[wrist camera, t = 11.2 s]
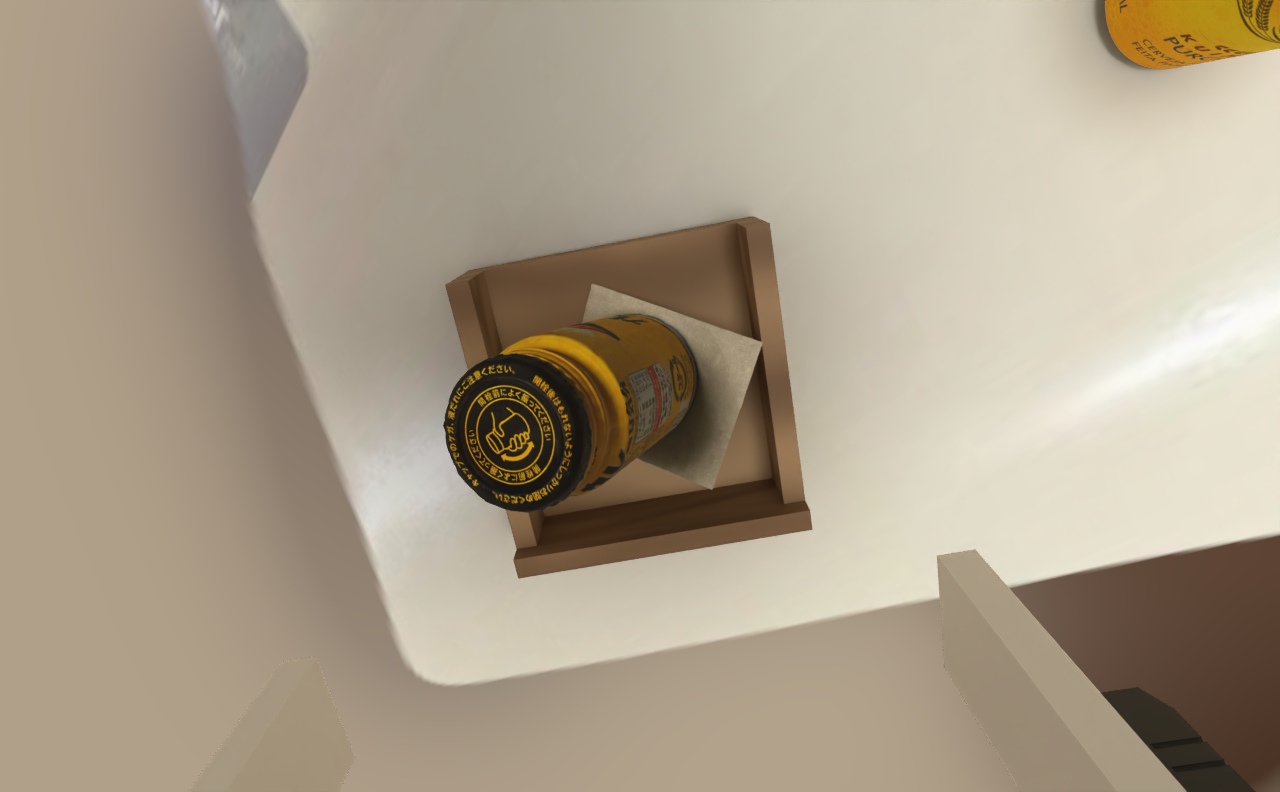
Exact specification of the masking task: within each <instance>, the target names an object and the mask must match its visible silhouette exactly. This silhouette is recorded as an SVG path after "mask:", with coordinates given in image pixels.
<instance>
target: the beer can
mask: <svg viewBox="0 0 1280 792" xmlns="http://www.w3.org/2000/svg"><path fill="white" fill-rule="evenodd" d="M1105 14H1106V21H1107V26H1108V29H1109V33H1110V35H1111V37H1112V39H1113V41H1114V43H1115V45H1116V46H1117V48H1118V49H1119V50H1120V51H1121V52H1122V53H1123V54H1124V55H1125V56H1126V57H1127V58H1128V59H1130V60H1131V61H1133V62H1135V63H1137V64H1139V65H1141V66H1144V67H1148V68H1153V69H1170V68H1177V67H1182V66H1187V65H1193V64H1198V63H1204V62H1209V61H1214V60H1220V59H1225V58H1230V57H1236V56H1241V55H1247V54H1252V53H1257V52H1263V51H1268V50H1274V49H1279V48H1280V0H1105Z"/></svg>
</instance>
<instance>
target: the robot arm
mask: <svg viewBox="0 0 1280 792" xmlns="http://www.w3.org/2000/svg"><path fill="white" fill-rule="evenodd" d="M937 564H938V579H939V594H940V609H941V625H942V640H943V653H944V654H943V655H944V667H945V669H946V671H947V672H948V674H949V676H950V678H951V679H952V681H953V682H954V684H955V686H956V687H957V689H958V691H959V692H960V694H961V695H962V697H963V699H964V701H965V702H966V704H967V705H968V707H969V709H970V710H971V712H972V714H973V715H974V717H975V719H976V720H977V722H978V724H979V725H980V727H981V729H982V730H983V732H984V733H985V735H986V737H987V738H988V740H989V742H990V743H991V745H992V747H993V748H994V750H995V752H996V753H997V755H998V756H999V758H1000V760H1001V761H1002V763H1003V764H1004V766H1005V768H1006V770H1007V771H1008V773H1009V775H1010V776H1011V778H1012V780H1013V781H1014V783H1015V784H1016V786H1017V788H1018V789H1019V791H1020V792H1255V791H1254V790H1253V789H1252V788H1251V787H1250V786H1249V785H1248V784H1247V783H1246V781H1245V780H1243V778H1241V776H1240V775H1239V774H1238V773H1237V772H1236V771H1235V770H1234V769H1233V768H1232V767H1231V766H1230V765H1228V766H1227V765H1226V764H1225V762H1224V759H1223V758H1222V757H1221V756H1220V755H1219V754H1218V753H1217V752H1216V751H1215V750H1214V749H1213V748H1212V747H1211V746H1210V745H1209V744H1208V743H1207V742H1203V740H1202V738H1201V736H1200V735H1199V734H1198V733H1197V732H1196V731H1195V730H1194V729H1193V728H1192V727H1191V726H1190V725H1189V724H1188V723H1187V722H1186V721H1185V720H1184V719H1183V718H1182V717H1181V715H1180V714H1179V713H1178V712H1177V711H1176V710H1174V709H1173V708H1172V707H1170V706H1168V705H1167V704H1165V703H1163V702H1162V701H1160V700H1158V699H1157V698H1155V697H1153V696H1151V695H1150V694H1148V693H1146V692H1145V691H1143V690H1141V689H1140V688H1138V687H1136V688H1130V689H1123V690H1116V691H1109V692H1103V693H1100V692H1099V691H1098V689H1097V688H1096V687H1095V686H1094V685H1093V684H1092V683H1091V682H1090V680H1089V679H1088V678H1087V677H1086V676H1085V675H1084V674H1083V672H1082V671H1081V670H1080V669H1079V668H1078V667H1077V665H1076V664H1075V663H1074V662H1073V661H1072V660H1071V659H1070V658H1069V656H1068V655H1067V654H1066V653H1065V652H1064V651H1063V649H1062V648H1061V647H1060V646H1059V645H1058V644H1057V643H1056V641H1055V640H1054V639H1053V638H1052V637H1051V636H1050V635H1049V634H1048V632H1047V631H1046V630H1045V629H1044V628H1043V627H1042V626H1041V624H1040V623H1039V622H1038V621H1037V620H1036V619H1035V618H1034V616H1033V615H1032V614H1031V613H1030V612H1029V611H1028V609H1027V608H1026V607H1025V606H1024V605H1023V604H1022V603H1021V601H1020V600H1019V599H1018V598H1017V597H1016V596H1015V595H1014V593H1012V591H1011V590H1010V589H1009V588H1008V587H1007V585H1006V584H1005V583H1004V582H1003V581H1002V580H1001V579H1000V577H999V576H998V575H997V574H996V573H995V572H994V571H993V569H992V568H991V567H990V566H989V565H988V564H987V563H986V561H985V560H984V559H983V558H982V557H981V556H980V555H979V553H978V552H977V551H976V550H970V551H963V552H957V553H951V554H945V555H939V556H937ZM354 759H355V755H354V753H353V750H352V748H351V745H350V743H349V740H348V737H347V735H346V732H345V730H344V727H343V725H342V722H341V719H340V717H339V715H338V712H337V709H336V707H335V704H334V702H333V699H332V696H331V694H330V691H329V689H328V686H327V684H326V681H325V679H324V676H323V673H322V671H321V668H320V666H319V663H318V661H317V658H316V656H314V657H308V658H302V659H296V660H290V661H283V662H281V663H280V665H279V666H278V667H277V669H276V670H275V671H274V673H273V674H272V676H271V677H270V678H269V680H268V681H267V683H266V684H265V685H264V687H263V688H262V689H261V691H260V692H259V694H258V695H257V696H256V698H255V699H254V701H253V702H252V703H251V705H250V706H249V708H248V709H247V710H246V712H245V713H244V714H243V716H242V717H241V719H240V720H239V721H238V723H237V724H236V725H235V727H234V728H233V730H232V731H231V733H230V734H229V735H228V737H227V738H226V740H225V741H224V742H223V744H222V745H221V746H220V748H219V749H218V751H217V752H216V753H215V755H214V756H213V758H212V759H211V760H210V762H209V763H208V764H207V766H206V767H205V769H204V770H203V771H202V773H201V774H200V775H199V777H198V778H197V780H196V781H195V782H194V784H193V785H192V787H191V788H190V789H189V791H188V792H339V791H340V789H341V786H342V784H343V782H344V780H345V778H346V776H347V774H348V772H349V770H350V768H351V765H352V763H353V761H354Z"/></svg>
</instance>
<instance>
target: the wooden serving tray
mask: <svg viewBox="0 0 1280 792" xmlns="http://www.w3.org/2000/svg"><path fill="white" fill-rule="evenodd" d="M591 284H595V285H598V286H602V287H604V288H608V289H610V290H614V291H616V292H619V293H622V294H625V295H628V296H631V297H634V298H637V299H639V300H642V301H645V302H648V303H651V304H654V305H657V306H660V307H663V308H666V309H668V310H671V311H674V312H677V313H679V314H682V315H685V316H688V317H691V318H694V319H696V320H699V321H702V322H705V323H708V324H710V325H713V326H716V327H719V328H722V329H725V330H728V331H731V332H734V333H737V334H740V335H742V336H745V337H748V338H751V339H754V340H757V341H760V342H763V343H762V346H761V349H760V352H759V355H758V358H757V361H756V364H755V367H754V370H753V373H752V376H751V379H750V382H749V385H748V388H747V390H746V394H745V397H744V400H743V404H742V407H741V409H740V412H739V414H738V417H737V420H736V423H735V426H734V429H733V432H732V435H731V438H730V441H729V443H728V446H727V449H726V453H725V455H724V458H723V461H722V464H721V467H720V470H719V472H718V474H717V478H716V481H715V484H714V487H713V489H712V490H711V489H709V488H706V487H704V486H702V485H699V484H696V483H694V482H691V481H689V480H687V479H685V478H683V477H681V476H679V475H676V474H674V473H672V472H669V471H667V470H663V469H661V468H659V467H657V466H654V465H652V464H649V463H646V462H644V461H642V460H640V459H638V458H636V459H635V460H634V461H632V462H631V463H630V464H628V465H627V466H626V467H625V468H623V469H622V470H621V471H620V472H618V473H617V474H616V475H615V476H613V477H612V478H611V479H610V480H608V481H607V482H605V483H604V484H603V485H602V486H600V487H598V488H596V489H593V490H592V491H590V492H588V493H586V494H583V495H579V496H572V497H568V498H566V499H565V500H564V501H561V502H560V503H559V504H557V505H555V506H553V507H547V508H546V509H545V510H540V511H538V510H536V511H532V512H529V513H526V512H517V511H509V510H506V511H507V515H508V518H509V522H510V526H511V529H512V533H513V537H514V540H515V544H516V548H517V551H516V554H515V557H514V564H515V568H516V571H517V575H518V578H524V577H530V576H536V575H542V574H548V573H554V572H560V571H566V570H572V569H578V568H584V567H590V566H596V565H602V564H608V563H614V562H620V561H626V560H632V559H638V558H644V557H650V556H656V555H662V554H668V553H674V552H680V551H686V550H692V549H698V548H704V547H710V546H716V545H722V544H728V543H734V542H740V541H746V540H752V539H758V538H764V537H770V536H776V535H782V534H788V533H794V532H800V531H806V530H812V523H811V515H810V510H809V508H808V506H807V504H806V502H805V496H804V488H803V481H802V473H801V465H800V457H799V449H798V442H797V434H796V426H795V418H794V410H793V403H792V395H791V387H790V379H789V371H788V364H787V356H786V348H785V340H784V332H783V324H782V317H781V309H780V301H779V293H778V285H777V278H776V270H775V262H774V254H773V246H772V239H771V231H770V223H767V222H765V221H763V220H760V219H758V218H756V217H747V218H742V219H737V220H732V221H727V222H721V223H716V224H711V225H706V226H700V227H695V228H690V229H685V230H679V231H674V232H669V233H664V234H659V235H653V236H648V237H643V238H638V239H632V240H627V241H622V242H617V243H611V244H606V245H601V246H596V247H591V248H585V249H580V250H575V251H570V252H564V253H559V254H554V255H549V256H543V257H538V258H533V259H528V260H523V261H517V262H512V263H507V264H502V265H496V266H491V267H486V268H481V269H475V270H470V271H468V272H466V273H465V274H463V275H461V276H460V277H458V278H456V279H455V280H453V281H451V282H450V283H448V284H446V285H445V286H446V290H447V293H448V297H449V301H450V304H451V308H452V312H453V315H454V319H455V323H456V326H457V330H458V334H459V338H460V341H461V345H462V349H463V352H464V356H465V360H466V363H467V367H468V370H469V369H471V368H472V367H473V366H475V365H476V364H478V363H480V362H482V361H484V360H486V359H487V358H493V357H495V356H497V355H499V354H500V353H501V352H502V351H504V350H505V349H506V348H507V347H509V346H511V345H512V344H514V343H516V342H518V341H520V340H522V339H524V338H526V337H529V336H533V335H536V334H540V333H544V332H547V331H553V330H556V329H561V328H565V327H569V326H572V325H576V324H580V323H581V324H582V322H583V317H584V313H585V308H586V304H587V301H588V297H589V293H590V289H591Z"/></svg>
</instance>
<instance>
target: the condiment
mask: <svg viewBox="0 0 1280 792" xmlns="http://www.w3.org/2000/svg"><path fill="white" fill-rule="evenodd" d="M762 343H763V342H760V341H757V340H754V339H751V338H748V337H745V336H742V335H740V334H737V333H734V332H731V331H728V330H725V329H722V328H719V327H716V326H713V325H710V324H708V323H705V322H702V321H699V320H696V319H694V318H691V317H688V316H685V315H682V314H679V313H677V312H674V311H671V310H668V309H666V308H663V307H660V306H657V305H654V304H651V303H648V302H645V301H642V300H639V299H637V298H634V297H631V296H628V295H625V294H622V293H619V292H616V291H614V290H610V289H608V288H604V287H602V286H598V285H595V284H591V289H590V293H589V297H588V301H587V304H586V308H585V313H584V317H583V322H582V324H581V323H580V324H576V325H572V326H569V327H565V328H561V329H556V330H553V331H547V332H544V333H540V334H536V335H533V336H529V337H526V338H524V339H522V340H520V341H518V342H516V343H514V344H512V345H511V346H509V347H507V348H506V349H505V350H504V351H502V352H501V353H500V354H499V355H497V356H495V357H493V358H487V359H486V360H484V361H482V362H480V363H478V364H476V365H475V366H473V367H472V368H471V369H469V370H468V371H467V372H466V373H465V374H464V375H463V376H462V377H461V379H460V380H459V381H458V382H457V384H456V385H455V387H454V389H453V391H452V393H451V396H450V399H449V404H448V407H447V410H446V414H445V421H444V425H443V426H444V429H445V432H446V444H447V448H448V451H449V453H450V456H451V458H452V460H453V463H454V465H455V466H456V469H457V472H458V474H459V475H460V476H461V478H462V479H463V480H464V481H465V482H466V483H467V484H468V485H469V486H470V487H471V488H472V489H473V490H474V491H475V492H476V493H477V494H478V496H480V497H481V498H482V499H484V500H485V501H486V502H488V503H490V504H493V505H496V506H498V507H501V508H503V509H506V510H509V511H517V512H526V513H529V512H532V511H536V510H538V511H540V510H545V509H546V508H547V507H553V506H555V505H557V504H559V503H560V502H561V501H564V500H565V499H566V498H568V497H572V496H579V495H583V494H586V493H588V492H590V491H592V490H593V489H596V488H598V487H600V486H602V485H603V484H604V483H605V482H607V481H608V480H610V479H611V478H612V477H613V476H615V475H616V474H617V473H618V472H620V471H621V470H622V469H623V468H625V467H626V466H627V465H628V464H630V463H631V462H632V461H634V460H635V459H636V458H638V459H640V460H642V461H644V462H646V463H649V464H652V465H654V466H657V467H659V468H661V469H663V470H667V471H669V472H672V473H674V474H676V475H679V476H681V477H683V478H685V479H687V480H689V481H691V482H694V483H696V484H699V485H702V486H704V487H706V488H709V489H711V490H712V489H713V487H714V484H715V481H716V478H717V474H718V472H719V470H720V467H721V464H722V461H723V458H724V455H725V453H726V449H727V446H728V443H729V441H730V438H731V435H732V432H733V429H734V426H735V423H736V420H737V417H738V414H739V412H740V409H741V407H742V404H743V400H744V397H745V394H746V390H747V388H748V385H749V382H750V379H751V376H752V373H753V370H754V367H755V364H756V361H757V358H758V355H759V352H760V349H761V346H762Z"/></svg>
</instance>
